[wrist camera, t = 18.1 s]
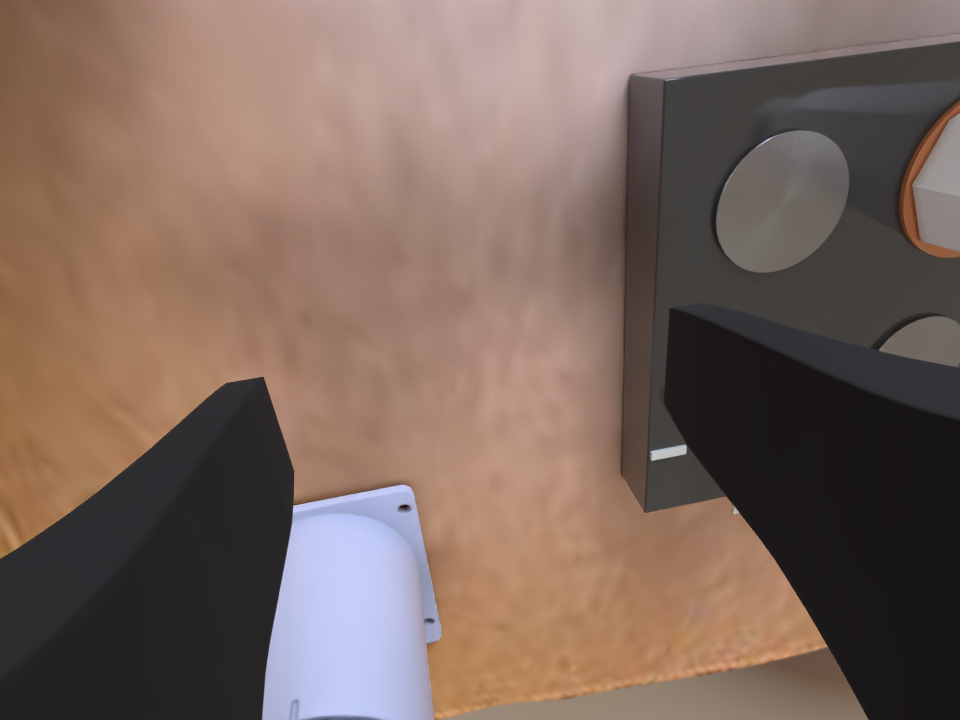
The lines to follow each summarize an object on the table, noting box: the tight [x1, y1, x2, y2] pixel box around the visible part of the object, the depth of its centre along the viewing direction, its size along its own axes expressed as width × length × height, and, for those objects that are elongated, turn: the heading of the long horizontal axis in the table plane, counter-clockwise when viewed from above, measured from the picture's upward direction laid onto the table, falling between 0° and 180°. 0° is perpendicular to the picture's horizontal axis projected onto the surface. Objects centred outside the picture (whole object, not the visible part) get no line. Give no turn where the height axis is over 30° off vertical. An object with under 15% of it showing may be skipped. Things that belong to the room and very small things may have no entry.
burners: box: [713, 100, 960, 367], centre depth 20 cm, size 12×12×1 cm
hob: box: [622, 33, 960, 515], centre depth 22 cm, size 17×14×3 cm
